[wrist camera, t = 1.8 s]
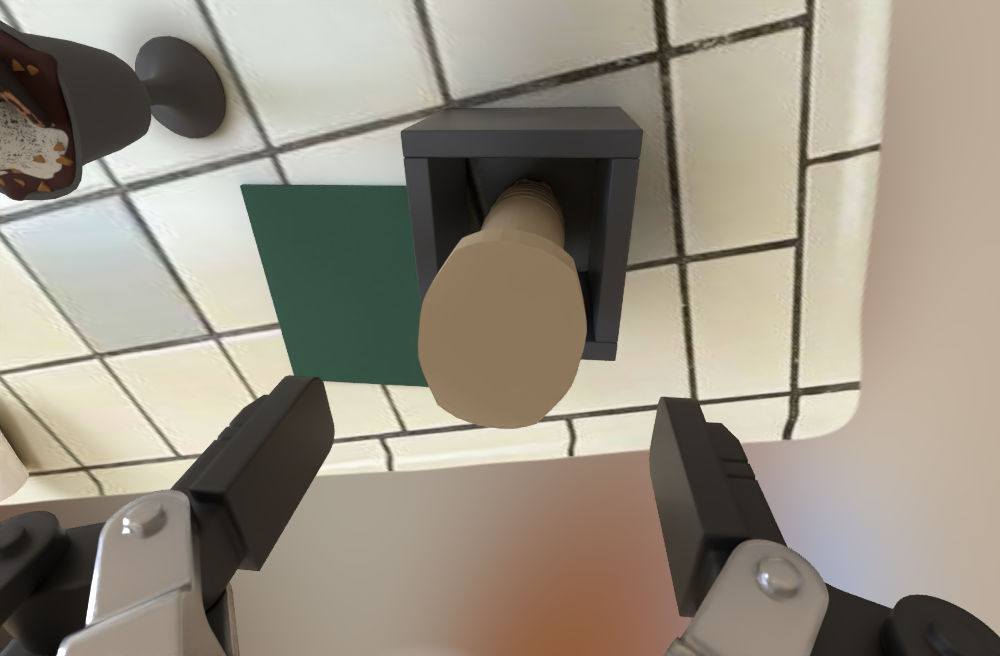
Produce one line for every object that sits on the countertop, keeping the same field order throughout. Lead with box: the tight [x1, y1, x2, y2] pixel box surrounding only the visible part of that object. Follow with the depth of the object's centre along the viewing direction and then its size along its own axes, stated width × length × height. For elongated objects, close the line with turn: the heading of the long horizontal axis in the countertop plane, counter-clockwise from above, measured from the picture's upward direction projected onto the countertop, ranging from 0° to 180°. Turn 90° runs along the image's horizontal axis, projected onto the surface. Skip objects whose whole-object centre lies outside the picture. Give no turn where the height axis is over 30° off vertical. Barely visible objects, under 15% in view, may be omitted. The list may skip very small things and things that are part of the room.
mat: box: [240, 185, 429, 387], centre depth 31 cm, size 14×12×1 cm
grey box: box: [401, 107, 643, 361], centre depth 24 cm, size 10×9×8 cm
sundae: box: [0, 21, 225, 201], centre depth 20 cm, size 7×7×15 cm
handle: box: [418, 177, 587, 429], centre depth 21 cm, size 5×6×15 cm
